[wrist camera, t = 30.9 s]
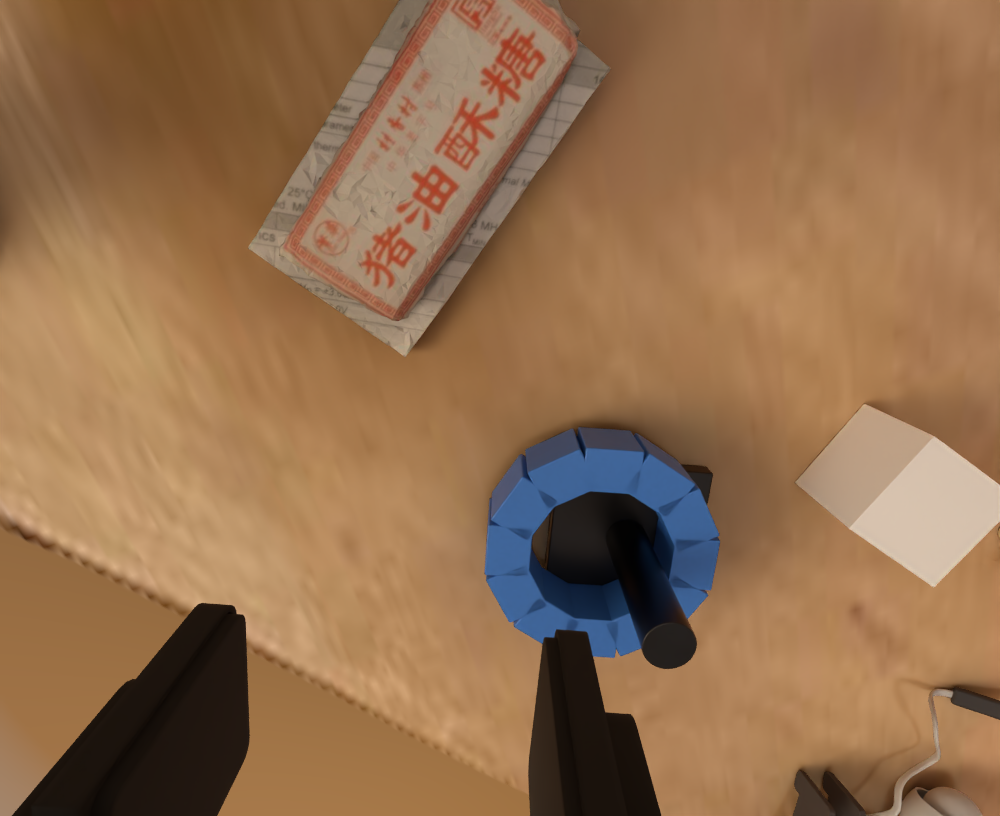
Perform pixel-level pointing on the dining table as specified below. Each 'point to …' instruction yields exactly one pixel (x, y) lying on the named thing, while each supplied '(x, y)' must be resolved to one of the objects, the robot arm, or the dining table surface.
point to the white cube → (904, 493)
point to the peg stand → (625, 564)
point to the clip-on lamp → (922, 811)
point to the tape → (564, 476)
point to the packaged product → (427, 157)
